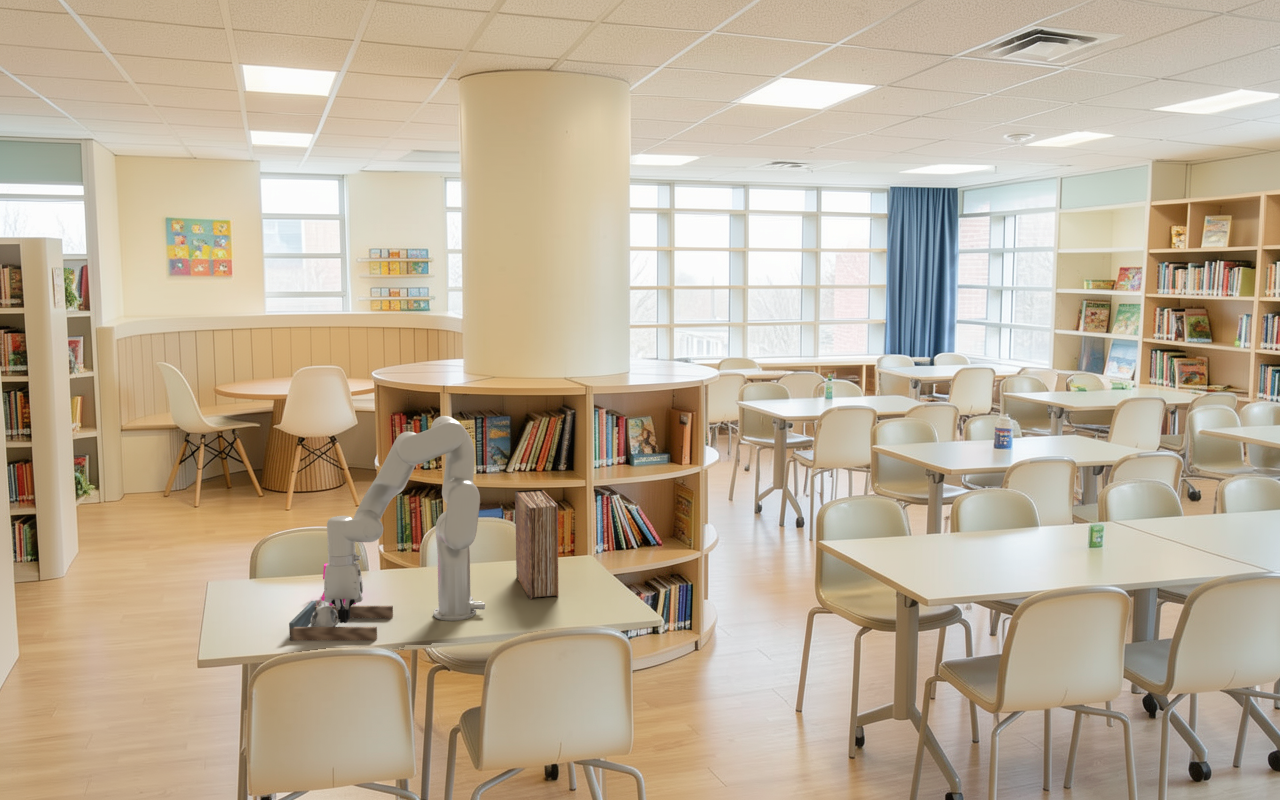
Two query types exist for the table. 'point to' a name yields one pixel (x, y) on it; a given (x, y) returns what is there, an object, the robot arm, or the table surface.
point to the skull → (324, 616)
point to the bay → (303, 632)
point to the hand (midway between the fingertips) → (344, 621)
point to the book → (536, 543)
